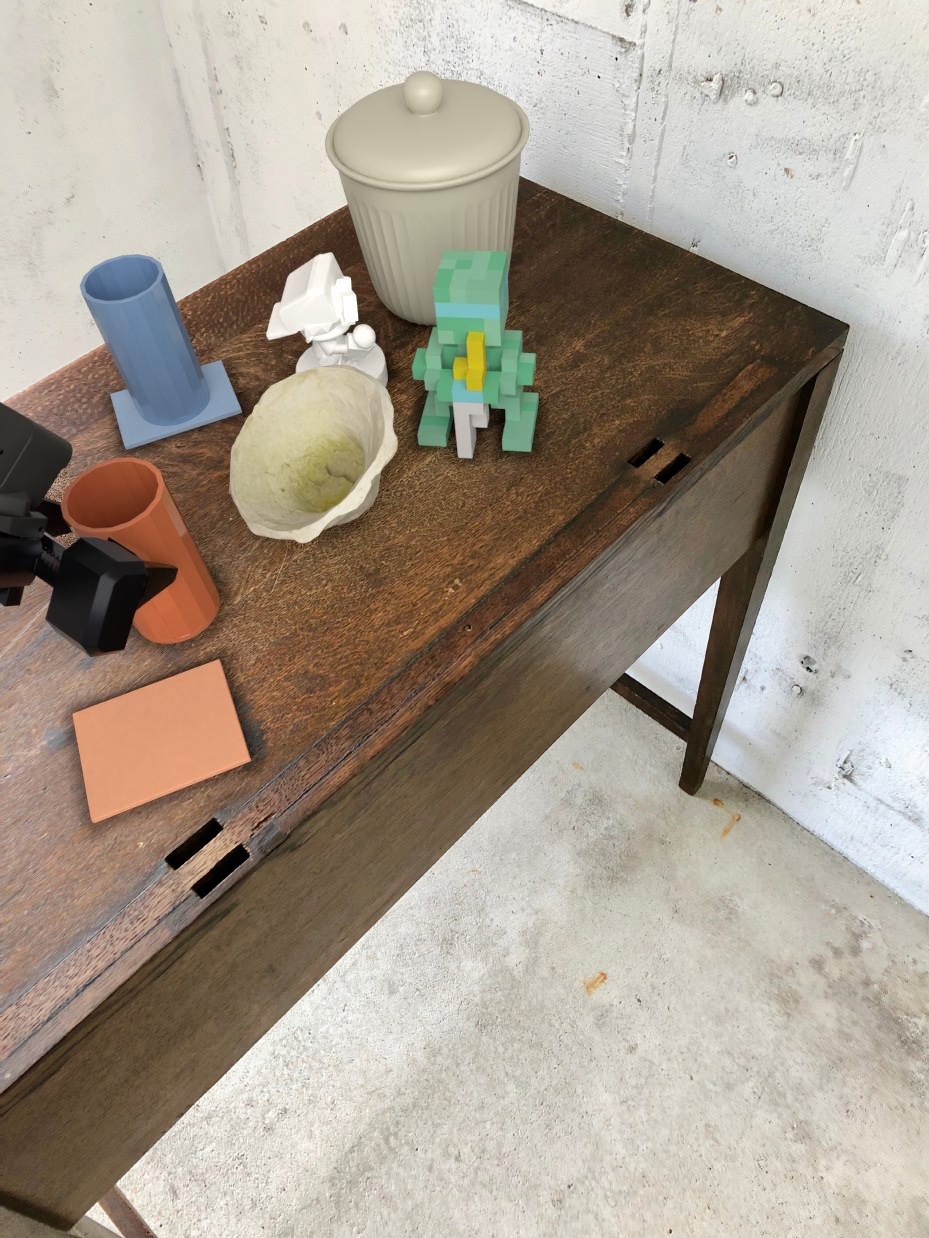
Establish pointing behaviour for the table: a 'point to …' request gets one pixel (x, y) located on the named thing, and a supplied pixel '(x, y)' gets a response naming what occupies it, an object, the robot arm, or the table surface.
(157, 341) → the blue cup
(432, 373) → the toy
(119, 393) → the blue mat
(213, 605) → the terracotta cup
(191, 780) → the peach mat
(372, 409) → the bowl
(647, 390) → the table surface
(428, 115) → the canister
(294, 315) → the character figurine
